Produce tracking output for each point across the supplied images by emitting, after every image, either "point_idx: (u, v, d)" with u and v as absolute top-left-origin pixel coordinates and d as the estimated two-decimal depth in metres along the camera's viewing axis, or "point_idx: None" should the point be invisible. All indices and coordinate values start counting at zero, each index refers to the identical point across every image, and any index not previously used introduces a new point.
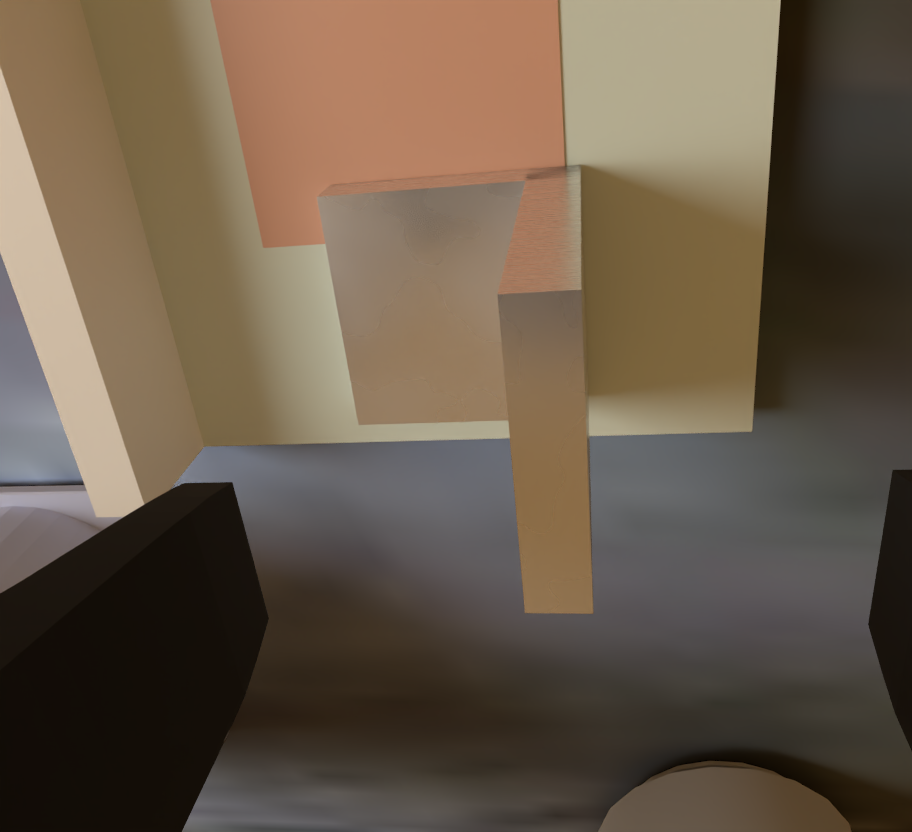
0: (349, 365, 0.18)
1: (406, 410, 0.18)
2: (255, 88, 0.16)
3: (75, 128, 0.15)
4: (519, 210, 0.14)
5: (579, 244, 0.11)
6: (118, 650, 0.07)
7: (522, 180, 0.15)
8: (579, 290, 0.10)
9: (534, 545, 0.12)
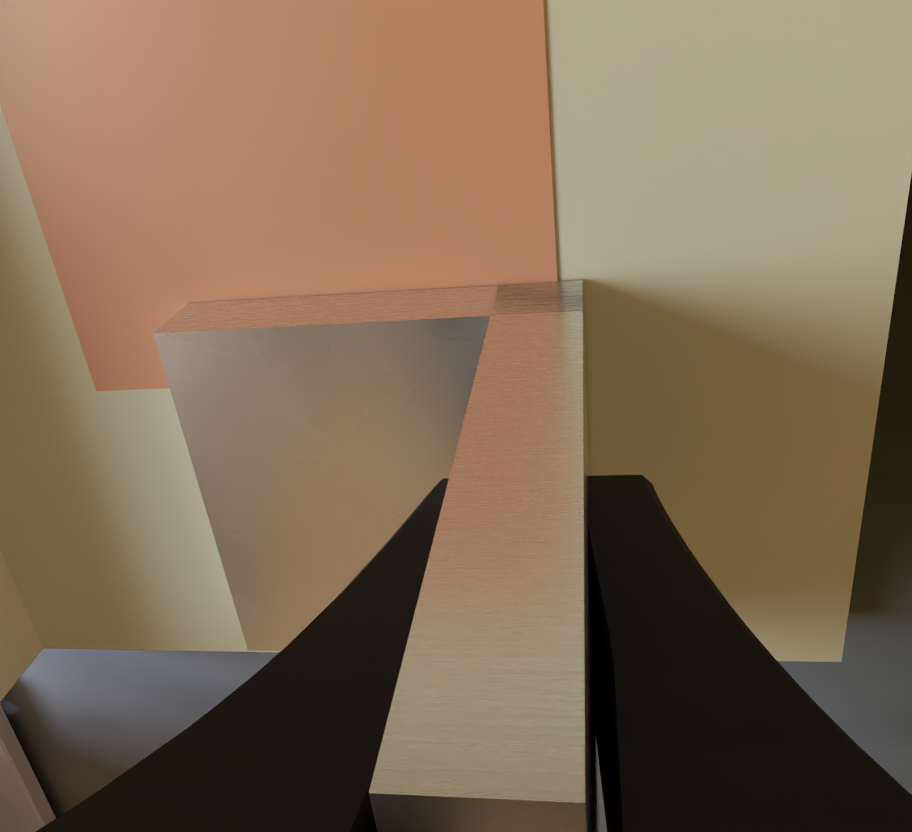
0: (229, 569, 0.12)
1: None
2: (59, 154, 0.10)
3: None
4: (469, 401, 0.07)
5: (580, 551, 0.05)
6: None
7: (484, 314, 0.09)
8: (580, 806, 0.04)
9: None
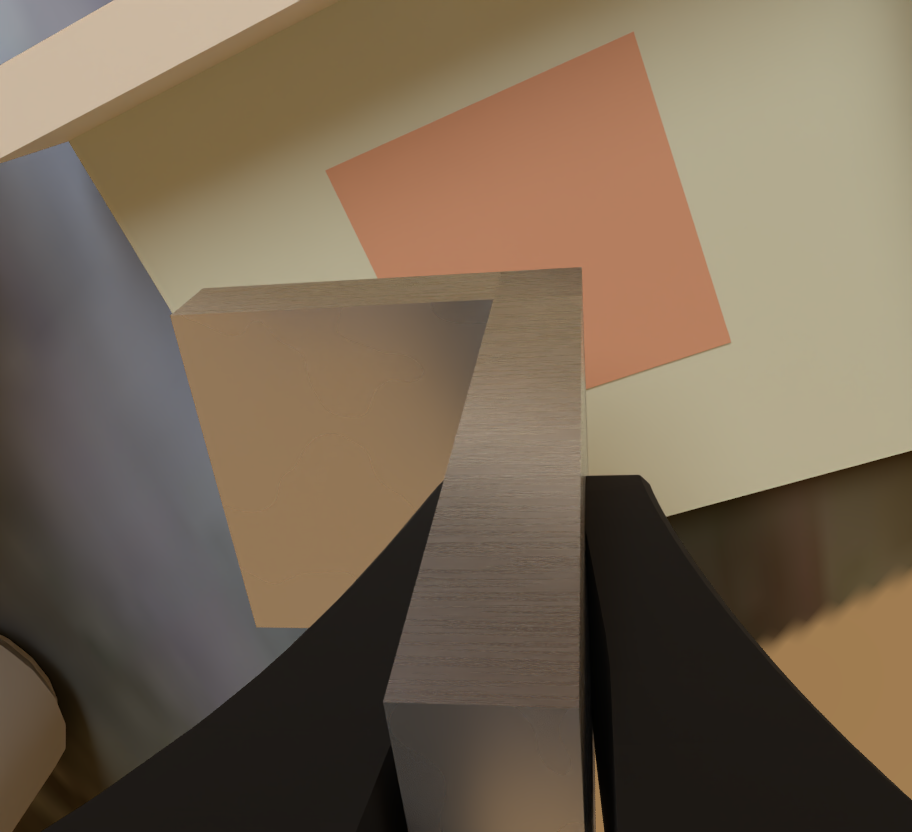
0: (238, 547, 0.12)
1: (324, 611, 0.12)
2: (477, 131, 0.16)
3: None
4: (474, 373, 0.08)
5: (577, 502, 0.06)
6: None
7: (488, 298, 0.10)
8: (574, 711, 0.04)
9: None
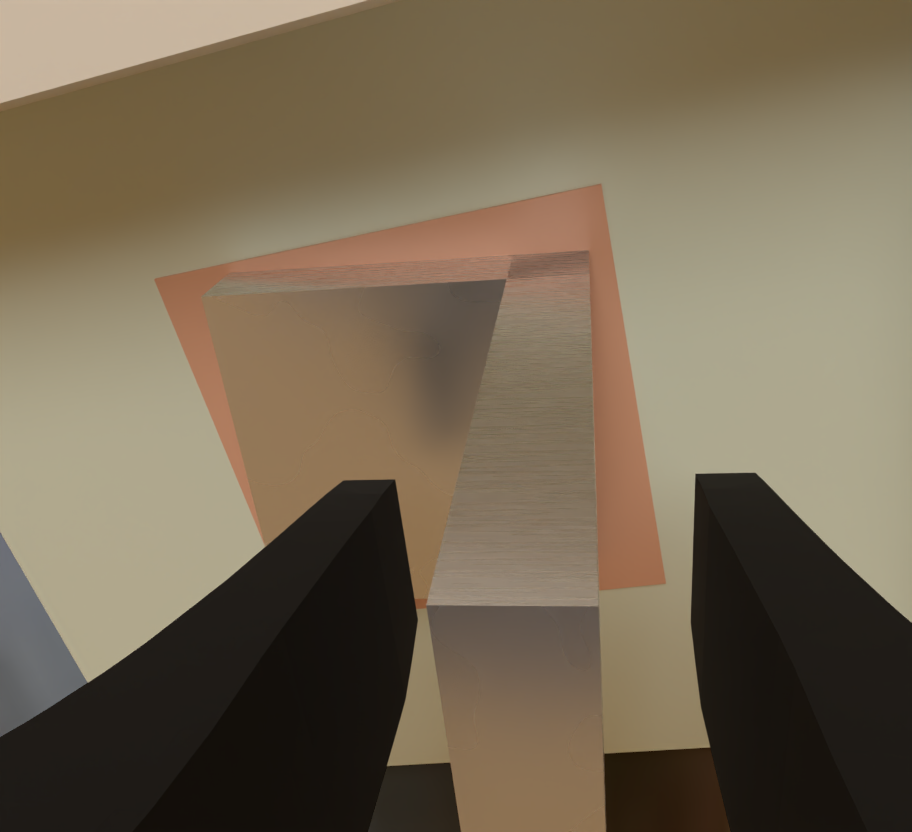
0: (262, 520, 0.13)
1: None
2: None
3: (236, 43, 0.09)
4: (491, 344, 0.08)
5: (591, 447, 0.06)
6: (325, 654, 0.07)
7: (501, 277, 0.10)
8: (595, 608, 0.05)
9: None
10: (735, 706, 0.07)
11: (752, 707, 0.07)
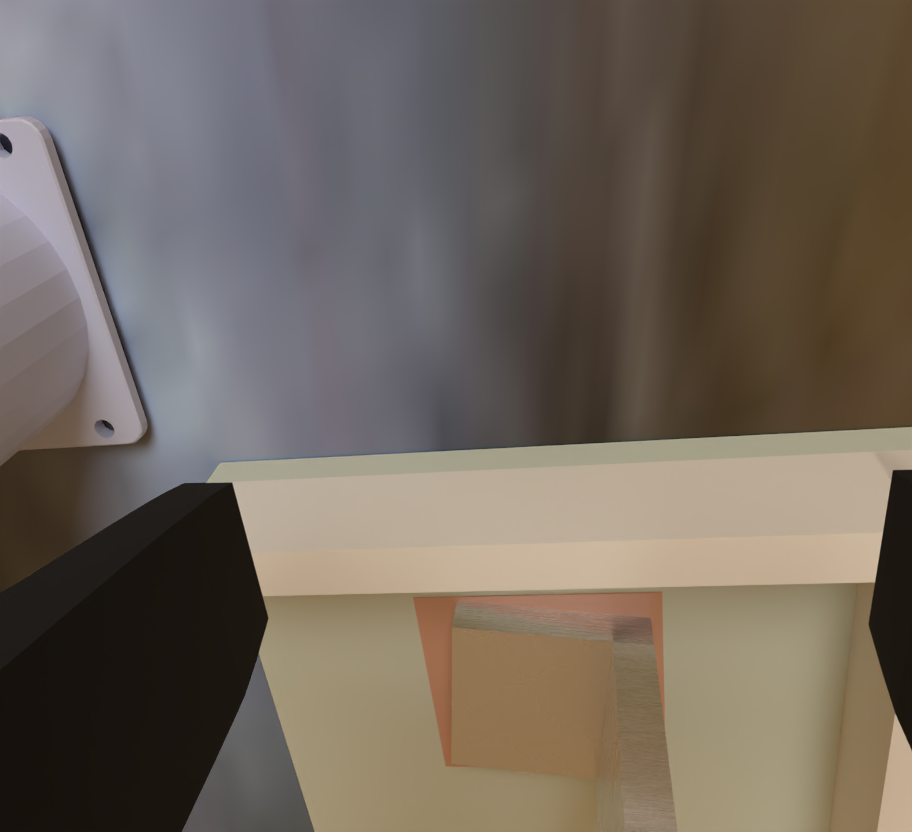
0: (452, 725, 0.23)
1: (491, 760, 0.23)
2: None
3: None
4: (616, 704, 0.19)
5: (671, 793, 0.17)
6: (118, 650, 0.07)
7: (610, 640, 0.20)
8: None
9: None
10: None
11: None
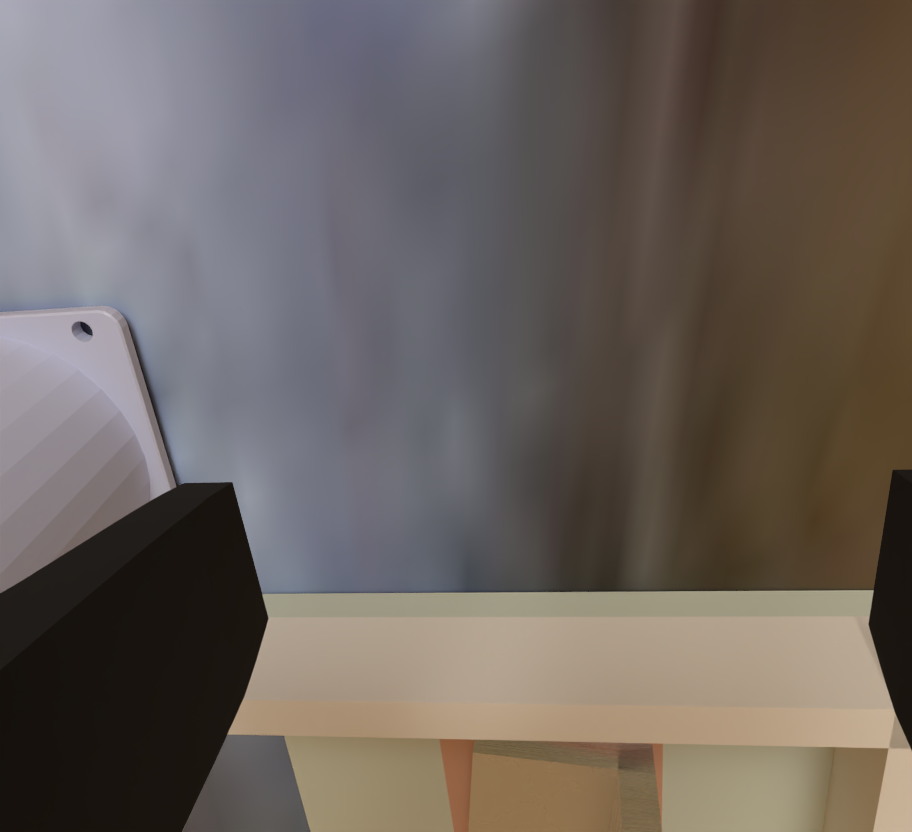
0: None
1: None
2: None
3: None
4: None
5: None
6: (118, 650, 0.07)
7: (615, 768, 0.23)
8: None
9: None
10: None
11: None
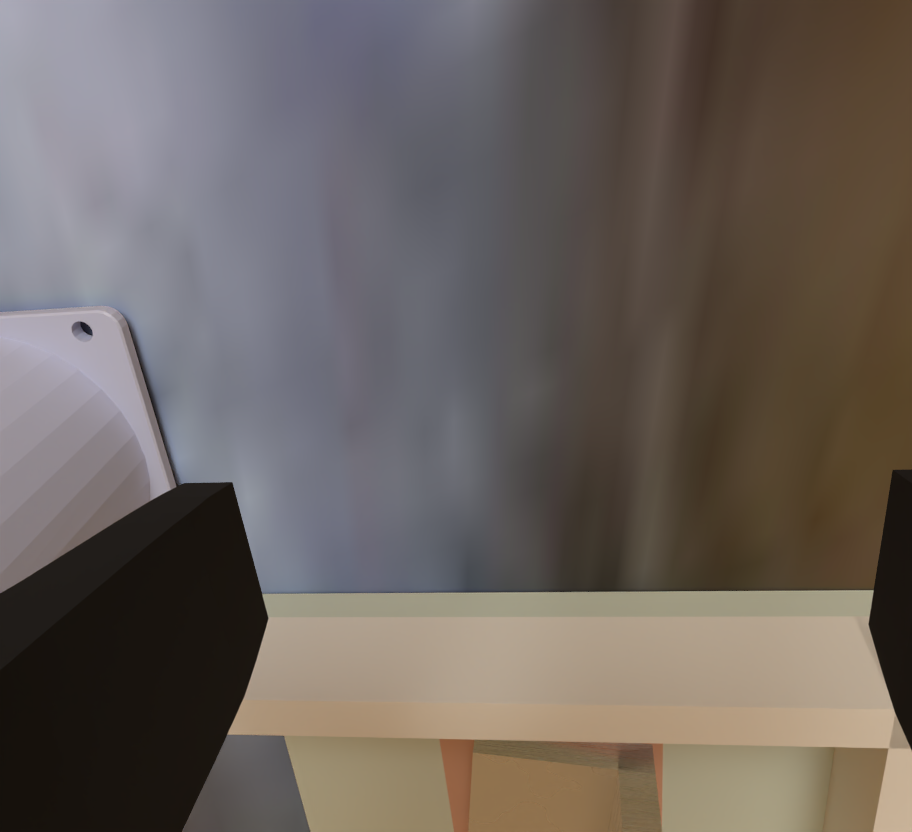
0: None
1: None
2: None
3: None
4: None
5: None
6: (118, 650, 0.07)
7: (615, 768, 0.23)
8: None
9: None
10: None
11: None
